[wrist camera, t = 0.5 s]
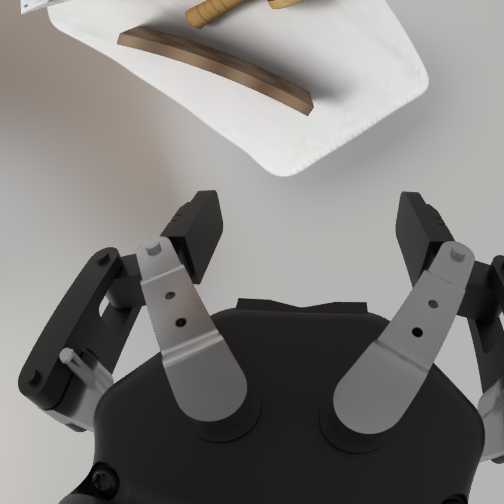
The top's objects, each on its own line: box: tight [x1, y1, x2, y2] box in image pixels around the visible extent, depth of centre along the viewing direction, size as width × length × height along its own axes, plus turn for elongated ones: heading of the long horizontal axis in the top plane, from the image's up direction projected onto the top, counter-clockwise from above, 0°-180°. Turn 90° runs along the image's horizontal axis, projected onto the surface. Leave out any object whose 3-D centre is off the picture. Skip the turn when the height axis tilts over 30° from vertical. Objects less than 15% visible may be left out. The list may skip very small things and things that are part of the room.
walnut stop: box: [117, 26, 314, 116], centre depth 28 cm, size 24×1×5 cm, turn 64°
